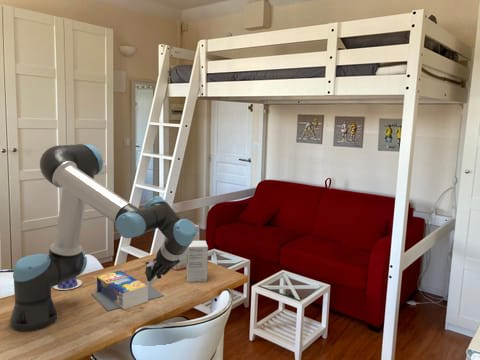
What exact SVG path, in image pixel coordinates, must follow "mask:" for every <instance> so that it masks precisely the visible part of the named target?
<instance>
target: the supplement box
mask: <svg viewBox="0 0 480 360" xmlns="http://www.w3.org/2000/svg"><path fill="white" fill-rule="evenodd" d="M208 251H209V246H208V244H207V241H206V240H199V241H192V243H191V244H190V245H189V246H188V248H187V268H186V272H185V273H186V280H187V282H189V283H191V282H192V283H193V282H196V281H197V282H208V257H209V256H208V253H209V252H208Z"/></svg>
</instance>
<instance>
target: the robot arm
mask: <svg viewBox="0 0 480 360" xmlns="http://www.w3.org/2000/svg"><path fill="white" fill-rule="evenodd" d="M103 167H104V160H103V156H102V154H101V153H100V150H99V149H98V148H96V147H95V146H93V145H92V144H89V143H88V144H86V143H85V144H84V143H79V144H78V143H77V144H67V145H63V144H62V145H61V144H60V145H54V146H51V147H49V148H47V149H46V150H45V151H44V152H43V153H42V155H41V157H40V159H39V169H40V172H41V174H42V176H43V178H45V179H46V181H48V182H49V183H50V184H52V185H53V186H54V187H56V188H62V190H61V197H60V204H59V212H58V219H57V224H56V225H57V226H56V232H55V240H54V242H52V243H51V244H50V245H49V249H48V251H49V252H48V254H45V253H35V254H30V255H25V256H24V257H22V258H20V259H17V261H16V262H15V263H14V264H13V273H12V278H13V287H14V288H13V289H14V307H13V309H12V313H11V316H10V320H9V322H10V324H9V325H10V328H11V329H12V330H14V331H18V332H34V331H38V330H42V329H44V328H47V327H49V326H51V325H53V324H54V323H55V322H56V321H57V320H58V310H57V308H56V306H55V303H54V301H53V298H52V288H53V287H54V286H56V285H58V284H61V283H63V282H65V281H68V280H71V279H74V278H75V277H79V276H80V275H81V274H82V273H84V271H85V270H86V268H87V265H88V258H87V256H86V252H85V250H84V248H83V246H82V245H81V244H80V242H81V241H80V240H81V234H82V229H83V228H82V227H83V223H84V216H85V209H86V204H87V205H88V206H90V207H91V208H92V209H94V210H96V212H98V213H99V214H101V215H103V216H104V217H106V218H107V219H108V220H110V221H112V222H113V223H114V224H115V229H116V231H117V232H118V234H119V236H121V237H122V238H125V239H133V238H137V237H140V236H141V235H143V234H146V233H148V232H151V231H154V230H156V229H158V230H159V231H160V232H161V233H162V235H163V236H164V237H165V239H164V241H163V242H162V244H161V245H160V247H159V249H158V251H157V253H156V257H155V258H153V259H152V262H151V261H150V262H149V261H146V262H144V263H145V267H146V268H145V272H144V274H145V276H146V279H145V281H146V282H147V285H148V286H152V287H153V285H154V284H155V282H156V281H157V280H159V279H162V276H165V275H166V274H168V272H170V271H171V270H172V268H173V267H174V266H175V265H176V264H178V263H179V262H180V260H179V258H180V257H181V256H182V254H183V253H184V252H185V250H186V249H187V248H188V246H189V245H190V244H191V243H192V241H193V239H194V238H195V236H196V234H197V228H196V226H195V223H194V222H193V221H190V220H189V219H188V218H180V216H179V215H178V214H177V213H176V212H175V211H174V209H173V208H172V207H171V205H170V204H169V203H168V202H167V201H166V200H165V199H164V198H163V197H162V196H160V195H156V196H153V197H152V198H150V199H148V200H147V201H146V202H145V203H144V205H143V207H141V208H138V207H137V206H135V205H134V204H132V203H131V202H129V201H127V200H126V199H124V198H123V197H122V196H120V195H118V193H116V192H113V191H112V190H111V189H109V188H108V187H106V186H105V185H103V184H102V183H100V182H99V181H97V180H95V176H97V175H98V174H99V173H101V172H102V170H103Z"/></svg>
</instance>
